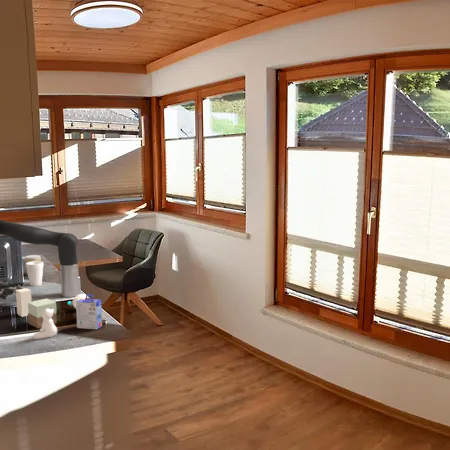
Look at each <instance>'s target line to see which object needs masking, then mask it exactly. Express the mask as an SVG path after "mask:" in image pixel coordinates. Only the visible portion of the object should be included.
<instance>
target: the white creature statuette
mask: <svg viewBox="0 0 450 450" xmlns="http://www.w3.org/2000/svg"><path fill="white" fill-rule="evenodd" d="M53 312H54V309H49V308H47V309H45V311H44V312H43V316H42V318H43V323H42V327H41V328H39V332H36V333H34V334H33V339H34V340H40V339H41V340H42V339H47V338H53V337H55V336H56V335H57V333H58V327H57V326H56V324H54V322H53V320H52V316H53Z"/></svg>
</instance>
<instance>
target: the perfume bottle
mask: <svg viewBox="0 0 450 450" xmlns="http://www.w3.org/2000/svg"><path fill="white" fill-rule="evenodd" d="M85 298H86V294H83V293H81V294H79V295H76V296H74V298H73V299H72V301H71V300H70V301H67V305H68V306H70V307H74V308H75V309H76V302H77V301H79V300H80V299H85ZM87 298H89V296H87Z"/></svg>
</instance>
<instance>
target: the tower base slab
mask: <svg viewBox="0 0 450 450" xmlns="http://www.w3.org/2000/svg"><path fill="white" fill-rule="evenodd" d="M52 320H53V322H54V325H56V324H57V321H58V319H57V313H55V314H53V316H52ZM27 321H28V322H27V323H28V325H31V326H32V327H34V328H37V329H41V328H42V323H43V318H42V317H38V318H37V317H35V316H33V315H31V314H29V313H28V316H27Z"/></svg>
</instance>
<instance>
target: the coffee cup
mask: <svg viewBox="0 0 450 450" xmlns="http://www.w3.org/2000/svg"><path fill="white" fill-rule="evenodd" d="M24 260H25V264H26V263H28V262H32V261H42V257H41V255H39V254H31V255H26V256H25V257H24ZM26 273H27V276H28V272H27V271H26Z"/></svg>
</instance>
